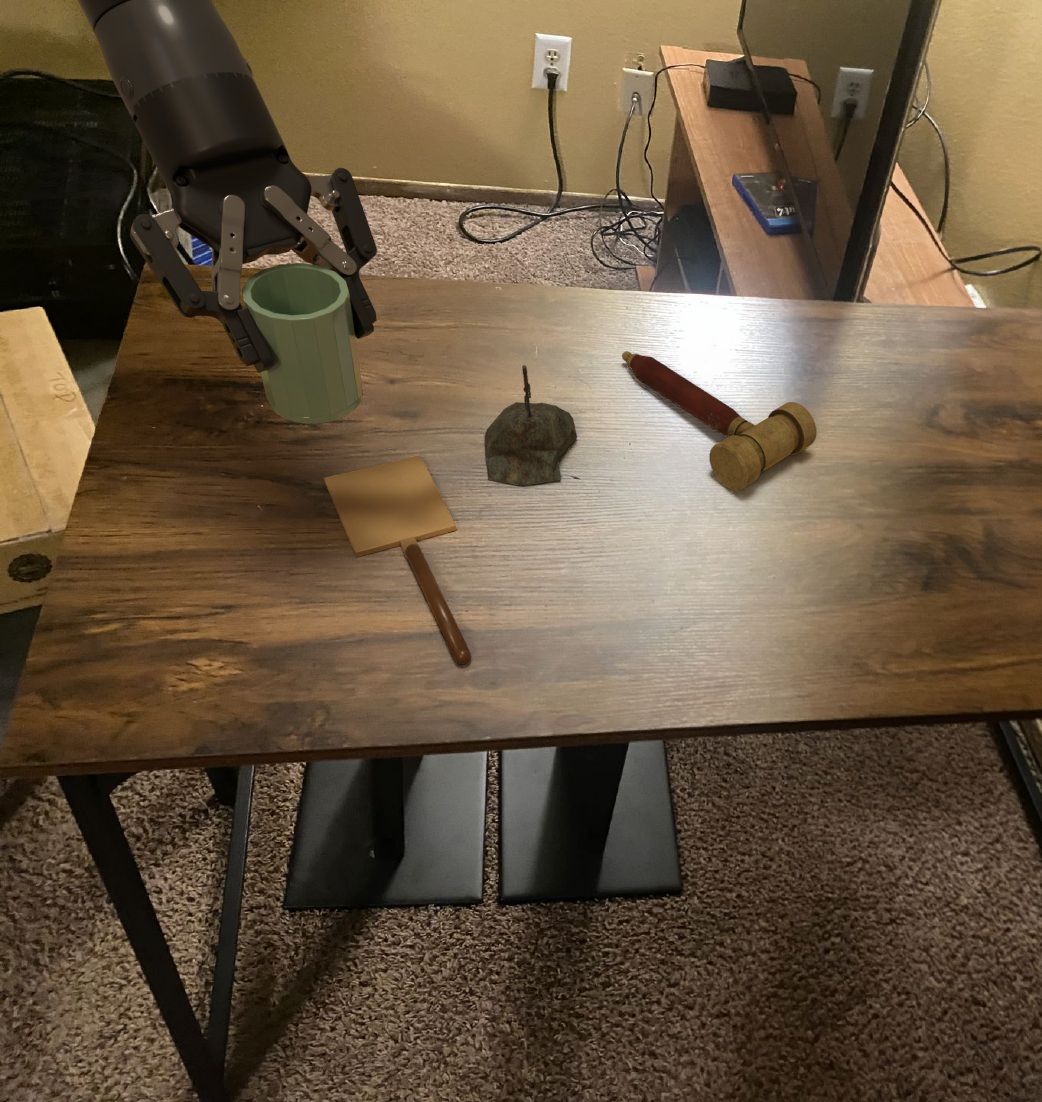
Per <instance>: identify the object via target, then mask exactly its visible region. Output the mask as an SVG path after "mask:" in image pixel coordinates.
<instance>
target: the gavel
mask: <svg viewBox="0 0 1042 1102" xmlns="http://www.w3.org/2000/svg"><path fill="white" fill-rule="evenodd" d="M621 357H622V361H623V362H626V363H627V366H628V368H630V369H631V371H632V372H633V374H634V375H635V377H636V378H637V379H638V380H639V381H640V382H642V383H643V384H644V385H646V386H648V387H649V388H651V389H653V390H654V391H656V392H657V393H659V394H660V395H662V396H663V397H664V398H666V399H667V400H669V401H671V402H672V403H674V404H675V405H677V406H678V407H680V408H681V409H683V410H684V411H686V412H687V413H689V414H690V415H692V416H693V417H695V418H696V419H698V420H699V421H701V422H702V423H704V424H706V425H707V426H708V427H710V428H712V429H713V430H715V431H716V432H718V433H720V434H721V435H725V436H727V437H726V438H724V439H723V440H721V441H719V442H718V443H715V444H714V445H713V446H712V447H711V448H710V450H709V457H708V458H709V459H708V460H709V465H710V468H711V470H712V472H713V474H714V476H715V477H716V479H717V480H718V481H719V482H720V484H722V485H723V486H724V487H725V488H727V489H729V490H732V491H735V492H736V491H741V490H743V489H744V488H747V487H748V486H749V485H751V484H752V483H754V482H755V481H757V480H758V479H759V477H760V476H761V474H762V473H763V472H765V471H766V470H768V469H770V468H771V467H772V466H775V465H776V464H777V463H779V462H780V461H782V460H784V459H785V458H787V457H788V456H790V455H792V456H793V455H797V454H800V453H801V452H802V451H804V450H805V449H807V448H809V447H810V446H811V445H813V444H814V443H815V441H816V440H817V439H816V438H817V434H818V433H817V425H816V421H815V419H814V417H813V415H812V414H811V413H810V412H809V410H808V409H807V408H806V407H805V406H804V405H802V404H800V403H799V402H795V401H787V402H786V403H784V404H782V405H780V406H778V407H777V408H775V409H773V410H772V411H771V412H770V413H768V416H767V418H765V419H762V421H760V422H758V423H756V424H754V423H752V422H751V421H748V420H747V419H745V418H744V417H742V416H741V415H740V414H739V413H738V412H737V411H736V410H735V409H734V408H732V407H731V406H729V405H727V404H726V403H725V402H724V401H721V400H720V399H718V398H717V397H715V396H713V394H711V393H709V392H708V391H706V390H704V389H703V388H701V387H700V386H698V385H697V384H695V383H693V382H692V381H690V380H689V379H687V378H685V377H684V376H682V375H681V374H680V373H678V372H676V371H675V370H673V369H672V368H670V367H669V366H667V365H665V364H664V363H662V362H660V361H659V360H658V359H656V358H654V357H652V356H649V355H642V354H639V353H637V352H636V353H632V352H631V351H627V350H626V351H623V353H622V354H621Z"/></svg>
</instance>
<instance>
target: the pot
mask: <svg viewBox="0 0 1042 1102" xmlns="http://www.w3.org/2000/svg"><path fill="white" fill-rule="evenodd" d="M241 294H242V301H243V304H244V309H245V308H248V309H249V311H250V313H251V315H252V317H253V319H254V321H255V323H256V325H257V327H258V329H259V331H260V333H261V335H262V337H263V339H264V341H265V343H266V345H267V347H268V349H269V351H270V353H271V355H272V357H273V360H274V366H273V367H272V368H271V369H269V370H266V371H263V372H260V376H261V380H262V384H263V389H264V393H265V397H266V401H267V404H268V406H269V408H270V409H271V411H272V412H274V413H275V414H276V415H277V416H279V417H281V418H282V419H285V420H287V421H289V422H293V423H297V424H303V425H304V424H305V425H306V424H307V425H317V424H326V423H331V422H334V421H337V420H340V419H343V418H345V417H346V416H348V415H350V414H351V413H352V412H353V411H354V410H356V409H357V407H358V406H359V405H360V404H361V401H362V400H363V393H364V391H363V380H362V374H361V373H362V372H361V365H360V359H359V353H358V345H357V338H356V337H355V331H354V324H353V317H352V310H351V303H350V296H349V290H348V287H347V283H346V281H345V280H344V279H343V278H342V277H341V276H339V275H338V274H337V273H336V272H334V271H332V270H329V269H327V268H324V267H322V266H319V265H312V264H311V263H303V262H295V263H281V264H277V265H273V266H270V267H267V268H264V269H260V270H259V271H258V272H256V273H255V274H253V275H252V276H250V277H249V278H248V279H247V280H246V282H245V284H243V287H242V289H241Z"/></svg>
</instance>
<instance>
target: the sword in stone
mask: <svg viewBox="0 0 1042 1102" xmlns="http://www.w3.org/2000/svg"><path fill="white" fill-rule="evenodd" d="M522 375H523V376H522V377H523V386H524V387H523V388H522V389H523V392H524V394H525V395H524V397H523V401H524V402H521V401H520V402H518V401H516V402H514V403H512V404H510V405H508V406H507V407H504V408H503V410H502V411H501V412H500V413H499V414H498V415H497V417H495V419H494V420H493V421H492V423H491V424H490V425H489V426H488V427H487V429H486V431H485V434H484V437H483V438H484V456H485V462H486V473H487V480H488V481H493V482H499V483H505V484H510V485H516V486H521V487H524V486H529V485H535V484H542V483H547V482H553V481H560V480H562V476H561V468H560V461H559V459H560V458H561V457H562V455H563V454H564V453H565V452H566V451H567V450H568V448H570V446H571V445H572V444H573V443H574V442H575V441H576V439H577V438H578V434H577V429H576V424H575V420H574V417H573V416H572V415H571V413H570V412H568V411H566V410H564V409H563V408H561V407H559V406H557V405H555V404H551V403H546V402H535V403H534V402H531V401H530V399H532V392H531V384H530V383H529V376H528V368H527V365H526V364H524V365H522Z"/></svg>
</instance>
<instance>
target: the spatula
mask: <svg viewBox="0 0 1042 1102" xmlns="http://www.w3.org/2000/svg"><path fill="white" fill-rule="evenodd" d="M323 483H324V486H325V487H326V489H327V492H328V494H329V496H330V499H331V501H332V503H333V506H334V508H335V510H336V513H337V515H338V517H339V521H340V522H341V525H342V527H343V529H344V532H345V533H346V534H345V535H346V536H347V539H348V541H349V544H350V546H351V548H352V551H353V553H354V555H355V557H356V558H360V557H363V556H368V555H370V554H375V553H378V552H382V551H385V550H388V549H392V548H396V547H400V548H401V550H402V552H403V555H404V557H405V558H406V559H407V560H408V562H409V565H410V567H411V570H412V571H413V573H414V576H415V578H416V580H417V582H418V584H419V587H420V588H421V590H422V593H423V594H424V595H423V596H424V597H425V599H426V601H427V604H428V605H429V607H430V610H431V612H432V615H433V617H434V618H435V621H436V622H437V625H438V627H439V629H440V631H441V633H442V635H443V638H444V640H445V643H446V644H447V646H448V648H449V650H450V652H451V655H452V657H453V659H454V661H455V662H456V663H457V664H459V665H466V664H467V663H469V662H470V660H471V658H472V653H471V651H470V649H469V647H468V645H467V642H466V640H465V638H464V636H463V634H462V632H461V630H460V628H459V625H458V624H457V621H456V619H455V618H454V615H453V613H452V611H451V609H450V607H449V605H448V603H447V600H446V598H445V597H444V594H443V592H442V590H441V588H440V586H439V583H438V582H437V580H436V577H435V575H434V573H433V572H432V569H431V567H430V565H429V563H428V561H427V559H426V557H425V555H424V553H423V551H422V548H421V546H419V543H418V542H419V541H422V540H427V539H429V538H433V537H437V536H440V535H445V534H448V533H451V532H454V531H457V524H456V522H455V520H454V518H453V516H452V514H451V513H450V511H449V508H448V507H447V505H446V502H445V501H444V499H443V497H442V495H441V493H440V491H439V489H438V487H437V485H436V484H435V481H434V479H433V477H432V476H431V474H430V472H429V470H428V468H427V466H426V464H425V462H424V460H423V458H422V456H421V455H419V454H418V455H415V456H411V457H406V458H402V459H398V460H395V461H390V462H386V463H382V464H377V465H373V466H369V467H364V468H360V469H356V470H351V471H347V472H343V473H338V474H334V475H329V476H326V477H323Z"/></svg>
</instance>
